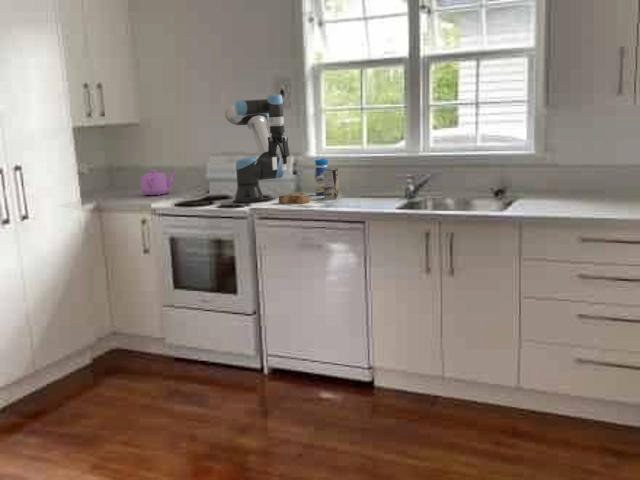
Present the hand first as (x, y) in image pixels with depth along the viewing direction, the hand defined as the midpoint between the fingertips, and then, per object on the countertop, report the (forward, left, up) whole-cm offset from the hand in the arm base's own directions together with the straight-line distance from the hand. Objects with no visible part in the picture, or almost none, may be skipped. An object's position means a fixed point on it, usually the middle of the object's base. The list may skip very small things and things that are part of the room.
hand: (279, 169), depth 350 cm
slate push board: (+17, 0, -17) cm, 24 cm away
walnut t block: (+12, 0, -16) cm, 20 cm away
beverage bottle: (+4, +26, -17) cm, 32 cm away
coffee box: (+18, +19, -17) cm, 32 cm away
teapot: (-96, -19, -17) cm, 99 cm away
